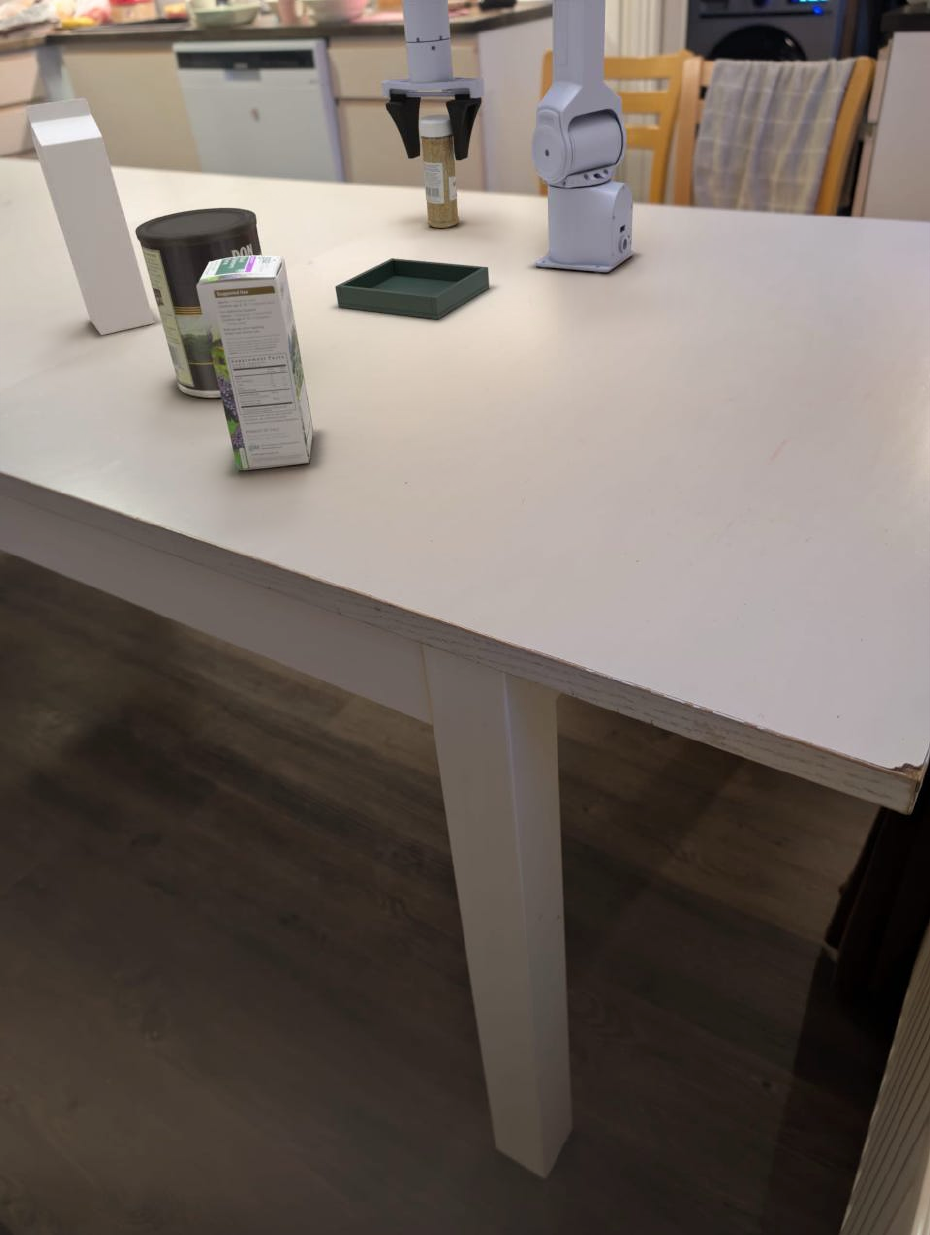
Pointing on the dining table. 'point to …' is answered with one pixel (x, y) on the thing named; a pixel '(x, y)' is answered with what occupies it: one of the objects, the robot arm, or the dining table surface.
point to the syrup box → (257, 360)
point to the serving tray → (413, 288)
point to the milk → (90, 214)
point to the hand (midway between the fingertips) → (437, 158)
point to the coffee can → (192, 281)
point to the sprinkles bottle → (439, 170)
